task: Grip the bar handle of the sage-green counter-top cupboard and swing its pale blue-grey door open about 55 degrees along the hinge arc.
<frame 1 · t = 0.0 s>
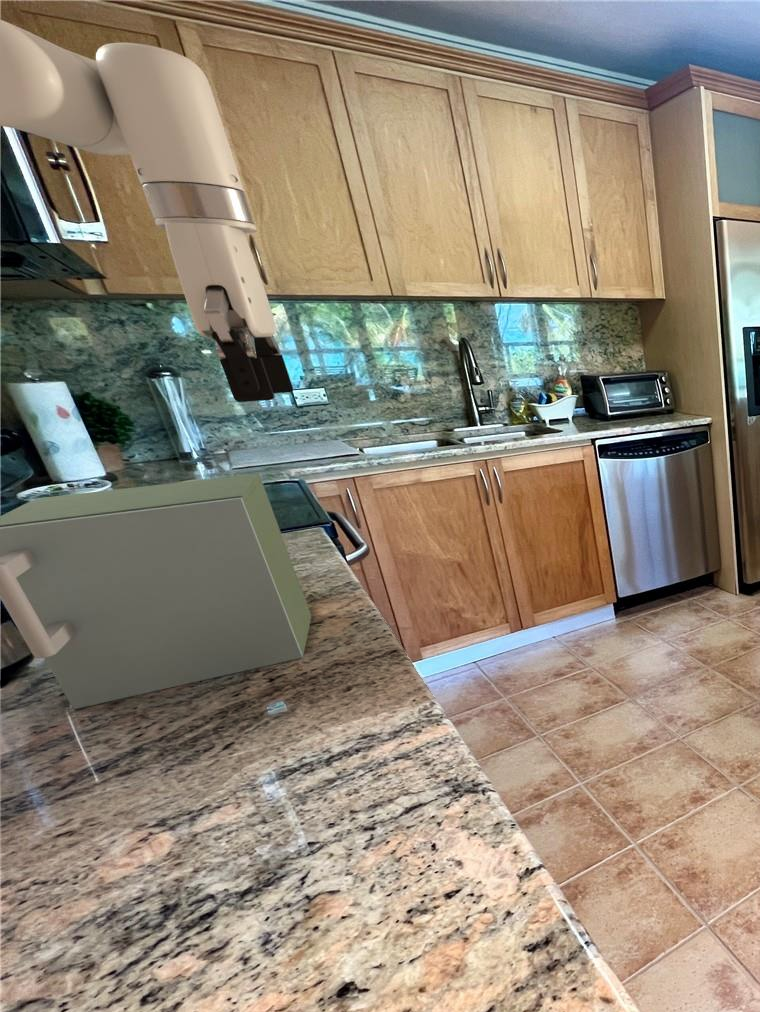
hand: (266, 396, 69), 33 cm above the countertop, tool pointing down, fingers open, 9 cm apart
cupboard: (209, 655, 85), on the countertop
door: (151, 611, 72), point 11 cm above the countertop, hinge at 0.0°
sauce bottle: (244, 607, 100), on the countertop
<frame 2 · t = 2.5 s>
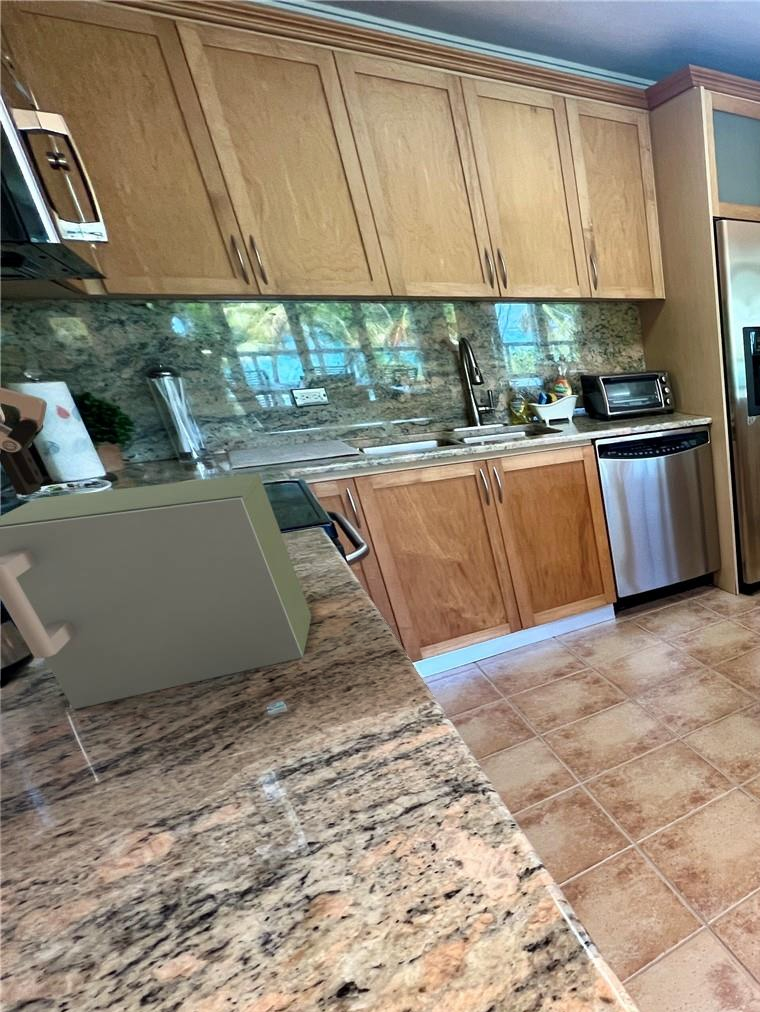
nothing on the countertop moved.
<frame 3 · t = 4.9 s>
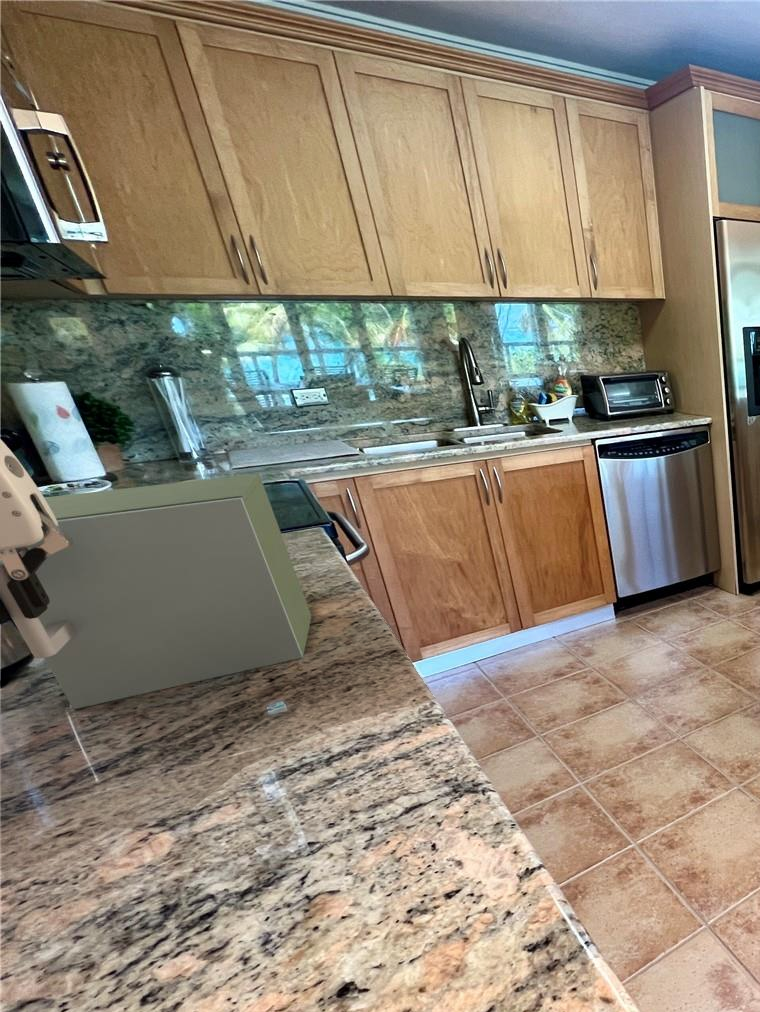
hand: (20, 615, 64), 14 cm above the countertop, tool pointing down, fingers closed on door
door: (151, 611, 72), point 11 cm above the countertop, hinge at 0.0°, touching gripper
everything else where it was.
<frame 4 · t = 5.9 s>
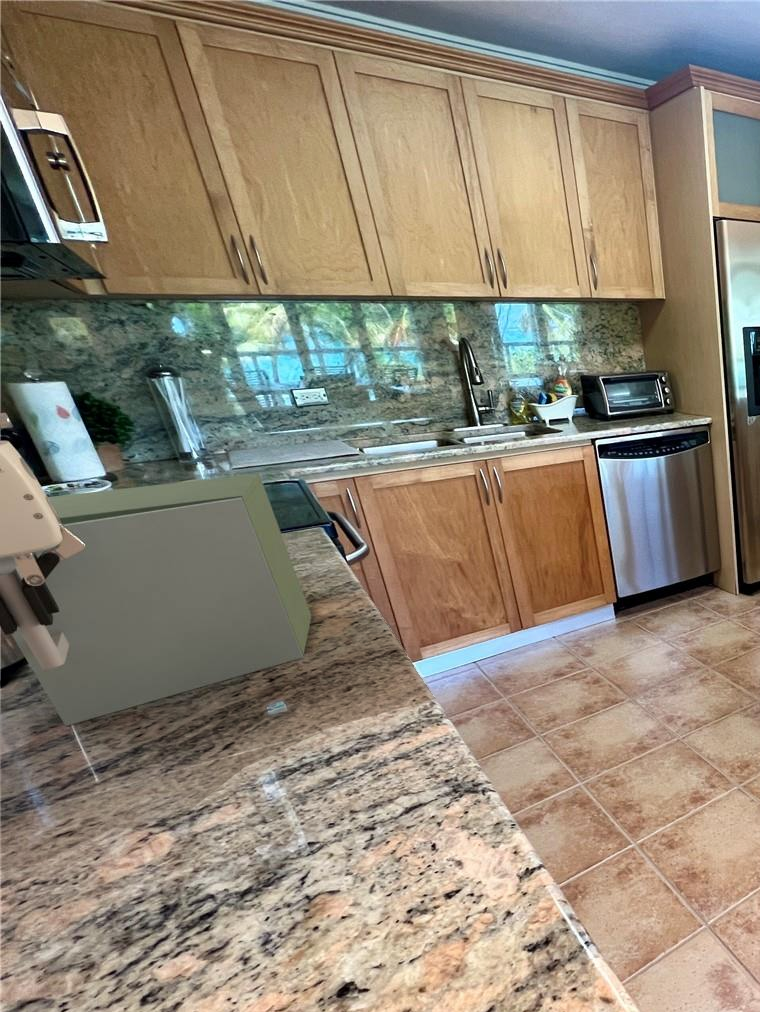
hand: (29, 624, 62), 14 cm above the countertop, tool pointing down, fingers closed on door
door: (156, 615, 71), point 11 cm above the countertop, hinge at 11.6°, touching gripper
everything else where it was.
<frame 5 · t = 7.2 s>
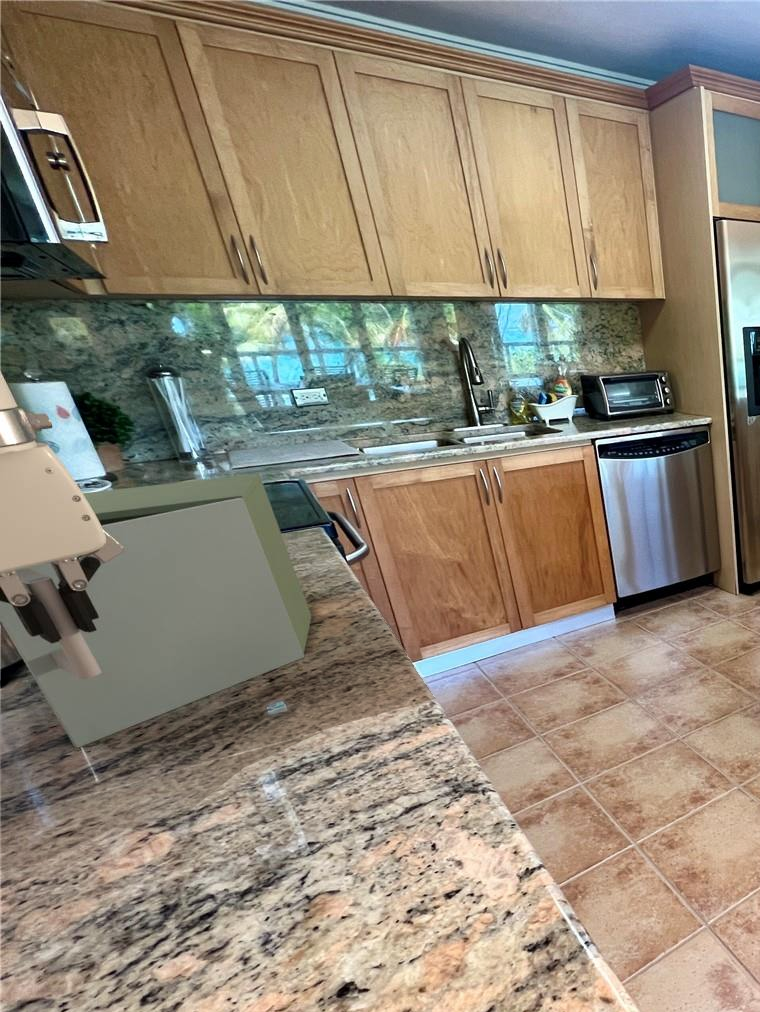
hand: (68, 633, 60), 14 cm above the countertop, tool pointing down, fingers closed on door
door: (176, 620, 69), point 11 cm above the countertop, hinge at 30.0°, touching gripper
everything else where it was.
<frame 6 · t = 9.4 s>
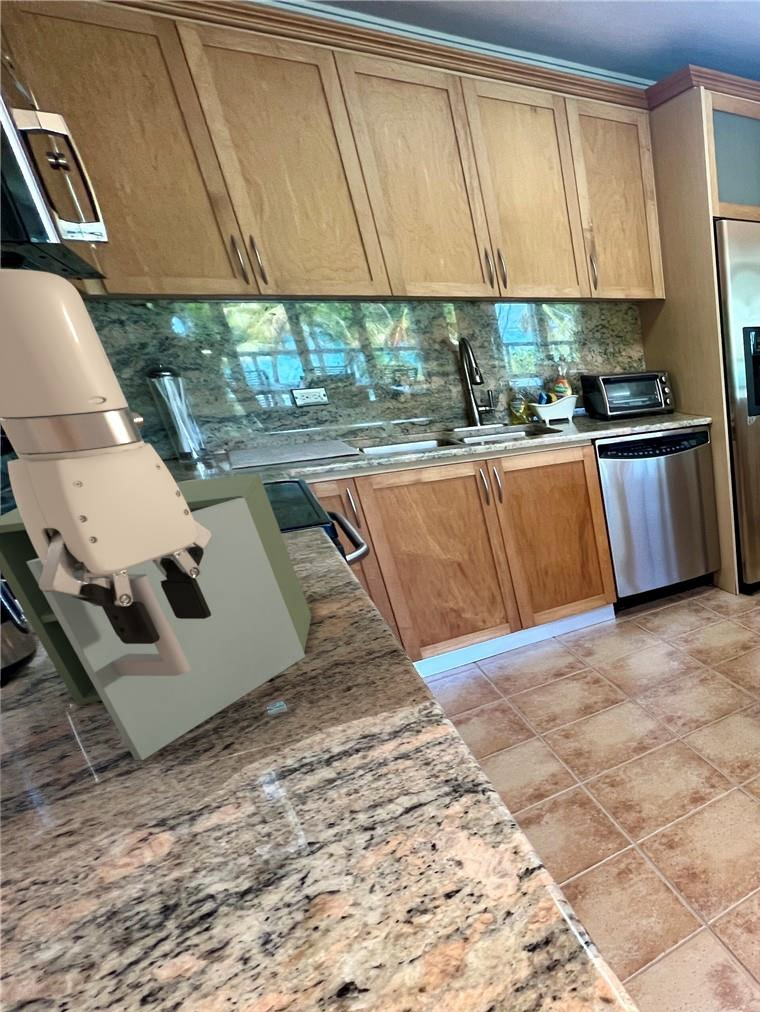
hand: (168, 627, 61), 14 cm above the countertop, tool pointing down, fingers open, 4 cm apart
door: (221, 618, 69), point 11 cm above the countertop, hinge at 55.1°
everything else where it was.
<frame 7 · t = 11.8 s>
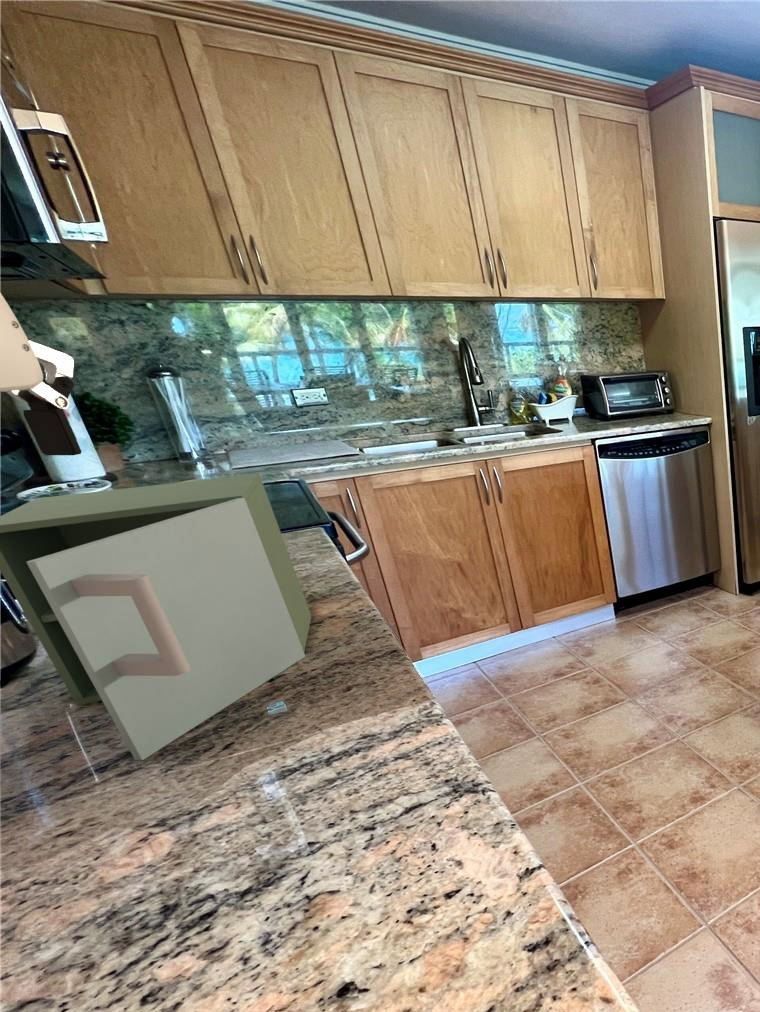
hand: (0, 465, 54), 29 cm above the countertop, tool pointing down, fingers open, 9 cm apart
nothing on the countertop moved.
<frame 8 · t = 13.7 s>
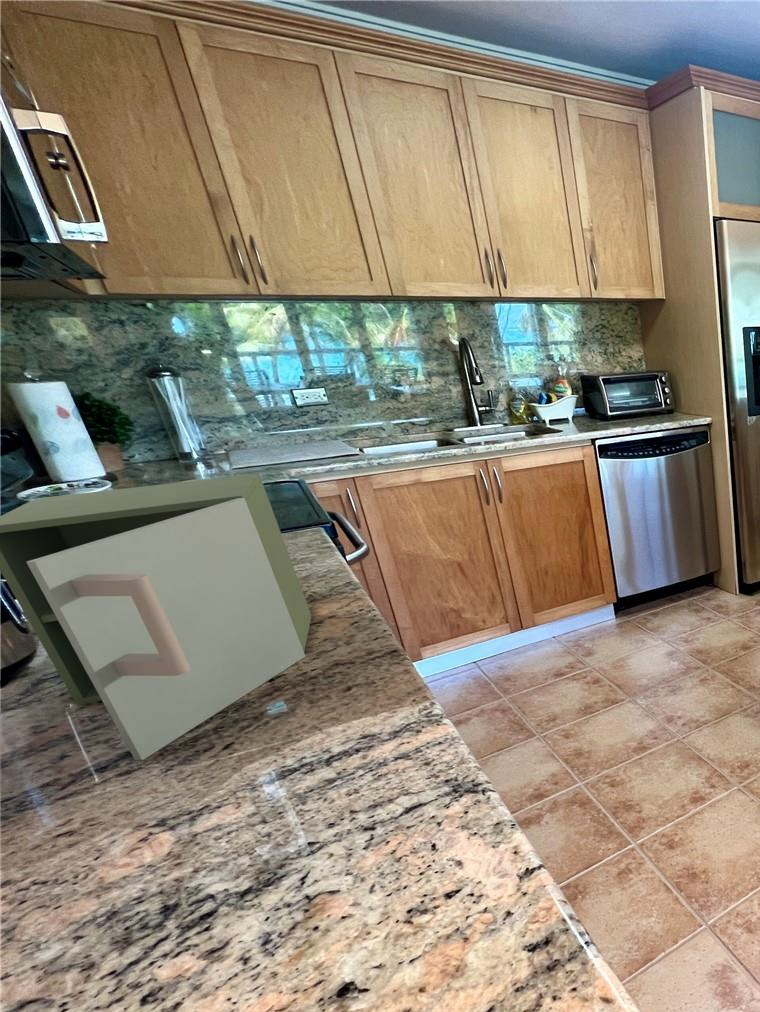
nothing on the countertop moved.
at the end: door at +55° (first picture: +0°) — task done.
